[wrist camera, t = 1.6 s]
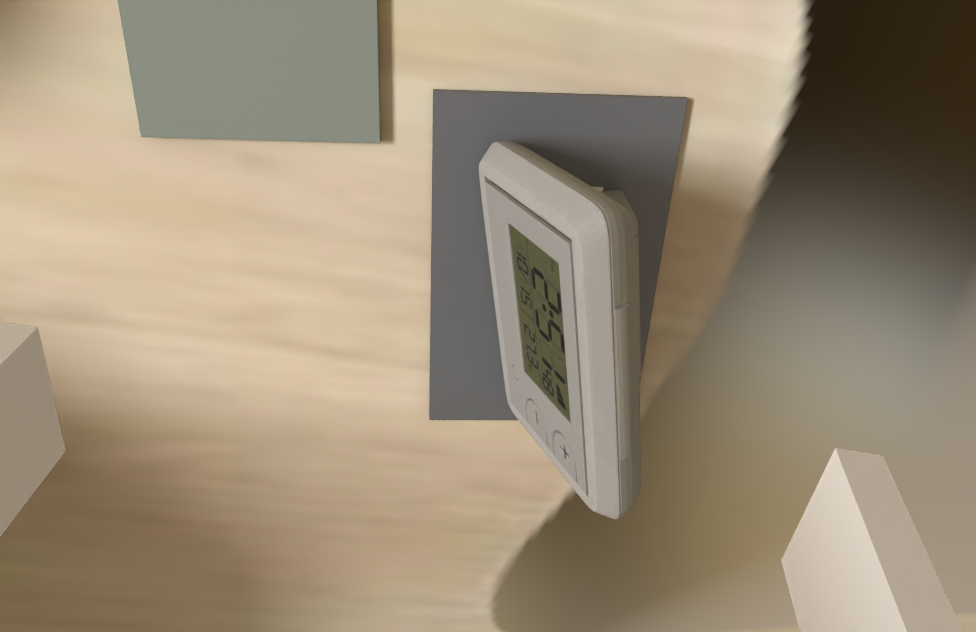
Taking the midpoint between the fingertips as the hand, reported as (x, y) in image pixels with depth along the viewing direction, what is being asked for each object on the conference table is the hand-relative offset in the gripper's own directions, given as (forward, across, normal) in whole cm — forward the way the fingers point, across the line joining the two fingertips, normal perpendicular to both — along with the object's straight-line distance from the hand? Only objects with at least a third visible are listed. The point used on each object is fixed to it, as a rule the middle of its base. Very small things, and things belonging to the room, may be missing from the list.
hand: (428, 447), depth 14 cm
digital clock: (+27, -3, +12) cm, 30 cm away
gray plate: (+27, -3, +12) cm, 30 cm away
